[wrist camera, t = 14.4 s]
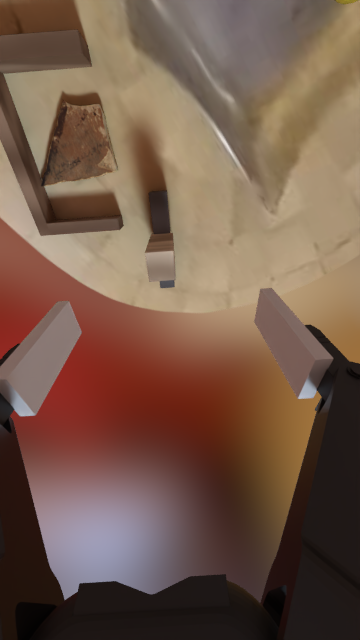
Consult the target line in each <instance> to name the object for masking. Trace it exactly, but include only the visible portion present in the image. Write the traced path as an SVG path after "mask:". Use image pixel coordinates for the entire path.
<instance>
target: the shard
mask: <svg viewBox="0 0 360 640" xmlns="http://www.w3.org/2000/svg"><path fill="white" fill-rule="evenodd" d="M117 171H118V167H117V164H116V160H115V157H114V153H113V150H112V146H111V143H110V138H109V133H108V128H107V124H106V117H105V115H104V112H103V111H102V108H101V106H100V105H99V104H92V105H85V106H77V105H72V104H69V103H67V102H66V101H65V100H63V102H62V106H61V109H60V113H59V115H58V120H57V126H56V128H55V131H54V135H53V139H52V141H51V145H50V149H49V154H48V159H47V164H46V171H45V174H44V177H43V178H42V184H41V186H48V185H54V184H57V183H61V182H66V181H77V180H82V179H90V178H93V177H100V176H104V175H105V174H107V173H114V172H117Z"/></svg>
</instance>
